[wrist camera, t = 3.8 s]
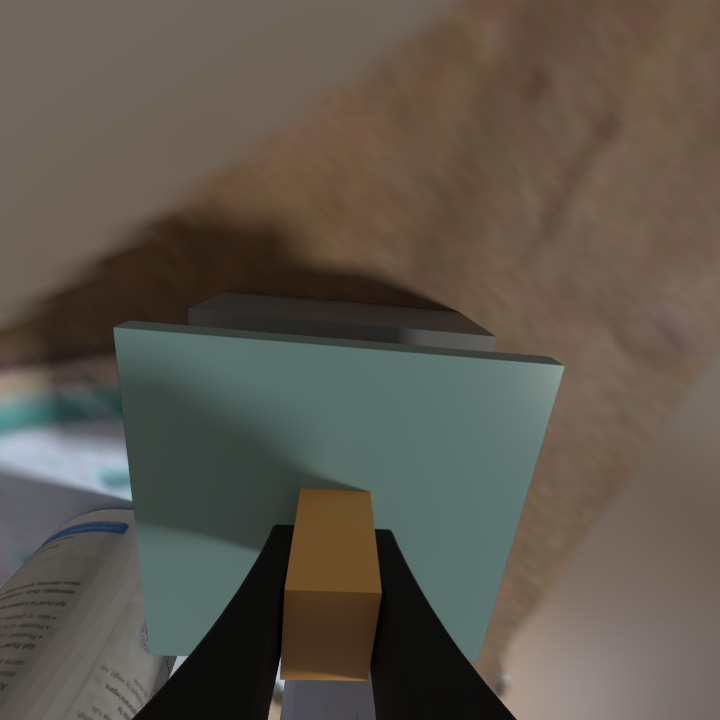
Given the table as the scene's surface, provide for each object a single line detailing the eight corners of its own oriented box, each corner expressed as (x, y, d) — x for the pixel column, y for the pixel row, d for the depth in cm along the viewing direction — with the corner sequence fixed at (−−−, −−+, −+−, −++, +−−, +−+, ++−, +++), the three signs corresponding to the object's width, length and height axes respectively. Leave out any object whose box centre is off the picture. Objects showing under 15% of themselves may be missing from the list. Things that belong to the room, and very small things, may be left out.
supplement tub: (38, 591, 24) (-363, 1066, 10) (72, 478, 22) (-397, 908, 8) (184, 631, 26) (7, 1083, 12) (232, 531, 24) (75, 959, 10)
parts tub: (423, 500, 23) (444, 567, 19) (228, 489, 23) (198, 557, 18) (458, 312, 20) (496, 336, 15) (226, 289, 19) (188, 308, 14)
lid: (464, 621, 16) (516, 786, 11) (168, 613, 15) (88, 789, 10) (537, 349, 12) (664, 425, 7) (143, 314, 11) (-4, 376, 6)
